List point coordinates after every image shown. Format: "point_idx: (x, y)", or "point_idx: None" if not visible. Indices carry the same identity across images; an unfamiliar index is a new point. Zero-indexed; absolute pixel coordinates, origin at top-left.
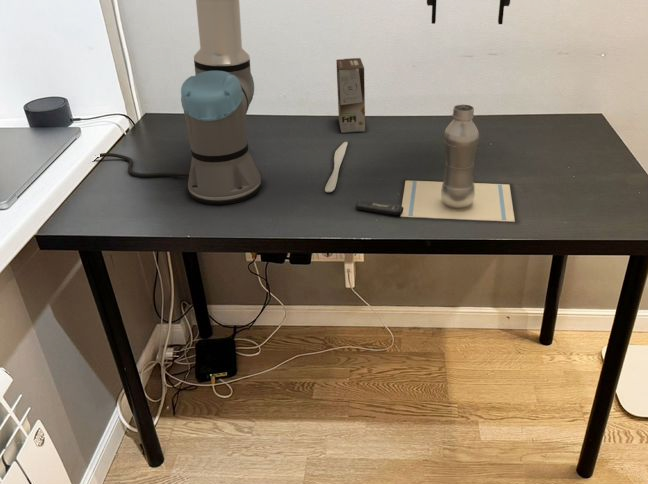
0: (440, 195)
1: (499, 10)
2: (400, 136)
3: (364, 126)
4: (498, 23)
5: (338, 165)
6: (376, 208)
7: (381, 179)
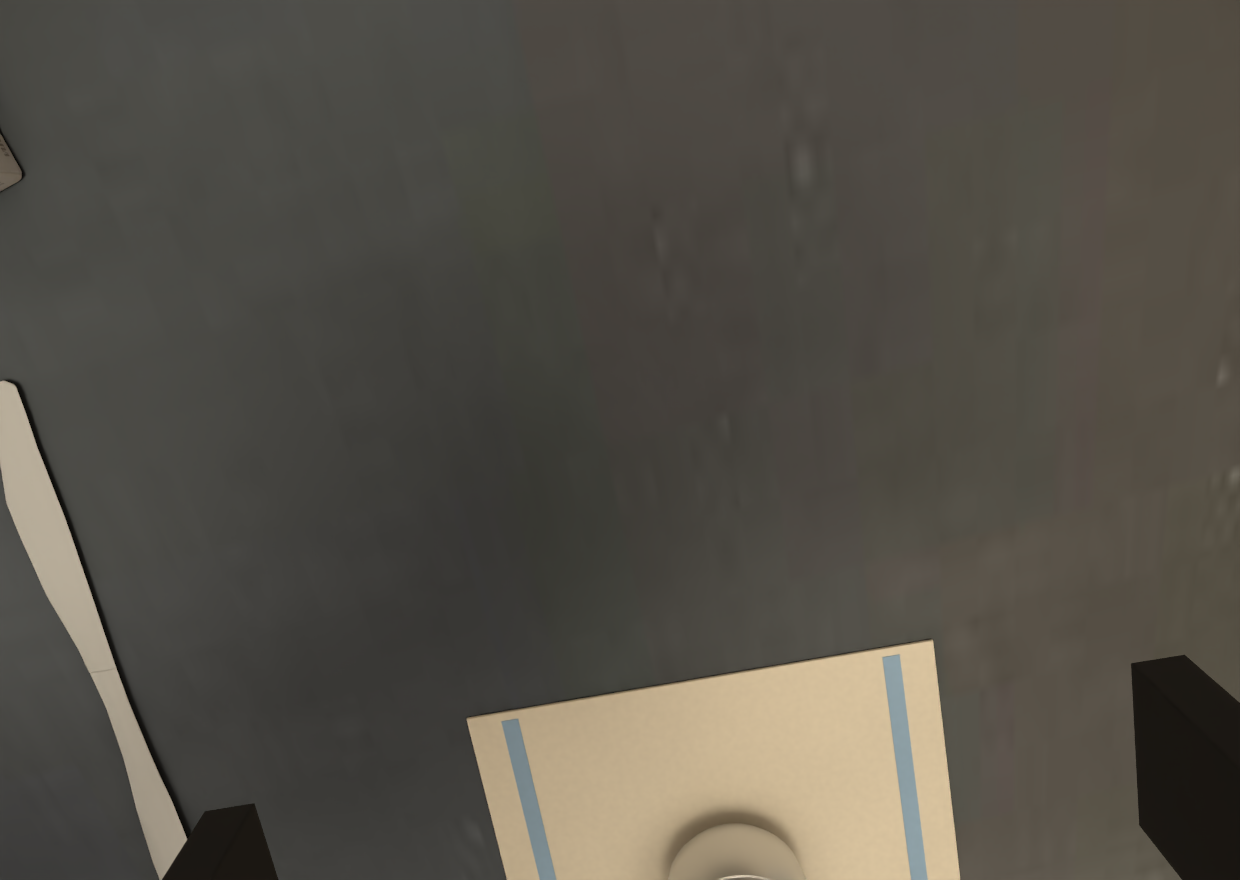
0: (649, 809)
1: (1232, 869)
2: (260, 190)
3: (4, 175)
4: (1139, 796)
5: (108, 673)
6: None
7: (355, 726)
